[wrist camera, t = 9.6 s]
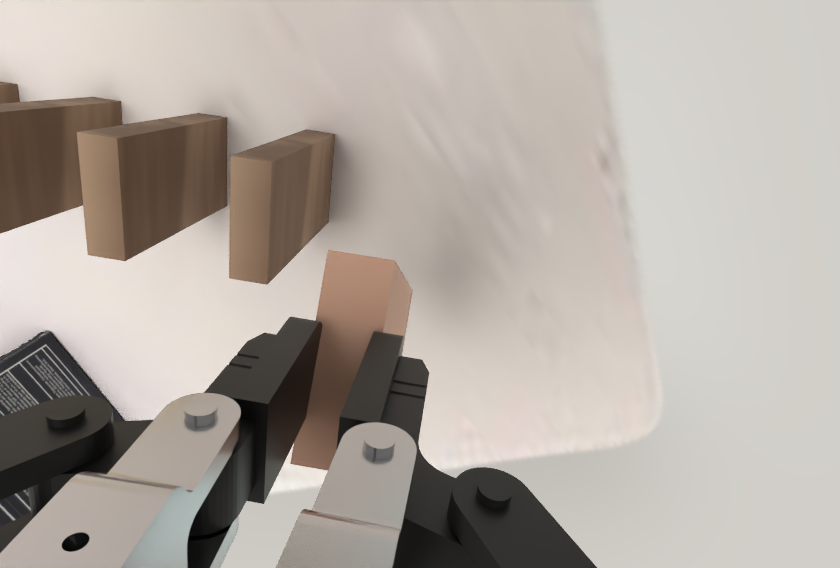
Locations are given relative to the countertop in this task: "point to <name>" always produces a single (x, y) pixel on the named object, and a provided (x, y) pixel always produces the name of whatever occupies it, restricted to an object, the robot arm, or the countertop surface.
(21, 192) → the domino
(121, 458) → the robot arm
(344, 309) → the domino
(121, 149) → the domino
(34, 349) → the small box
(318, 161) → the domino
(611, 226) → the countertop surface
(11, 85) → the domino
